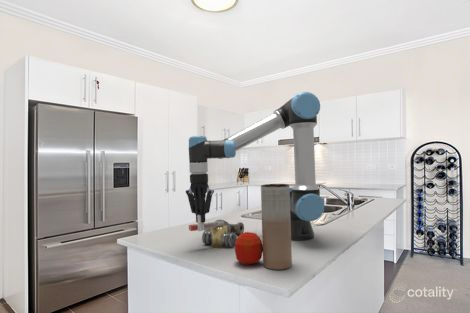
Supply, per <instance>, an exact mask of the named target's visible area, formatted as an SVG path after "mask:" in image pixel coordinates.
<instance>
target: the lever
mask: <svg viewBox="0 0 470 313" xmlns="http://www.w3.org/2000/svg"><path fill="white" fill-rule="evenodd" d="M223 226H224V222H223V221H217V220H215V221H211V222H204V229H207V228H214V227H223ZM188 230H189V231H190V232H194V231H198V223H197V224H194V223H193V224H189V225H188Z"/></svg>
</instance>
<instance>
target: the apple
mask: <svg viewBox="0 0 470 313" xmlns="http://www.w3.org/2000/svg"><path fill="white" fill-rule="evenodd" d="M234 254H235V258H236V260H237V261H239V263H241V264H243V265H245V266H247V265H248V266H249V265H254V264H256V263H257V262H259V261H260V260H261V259H262V258H263V242H262V239H261V238H260V236H259V235H258V234H256V233H255V232H252V231H251V232H250V231H247V232H246V231H244V232H243V233H242V234H240V235H239V234H238V236H237V239H236V241H235V247H234Z"/></svg>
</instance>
